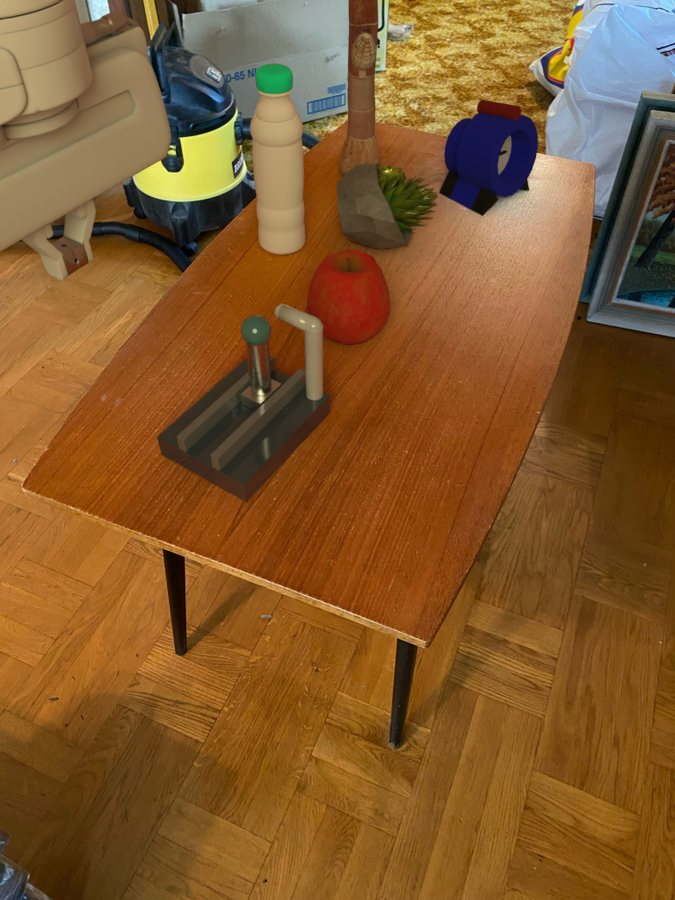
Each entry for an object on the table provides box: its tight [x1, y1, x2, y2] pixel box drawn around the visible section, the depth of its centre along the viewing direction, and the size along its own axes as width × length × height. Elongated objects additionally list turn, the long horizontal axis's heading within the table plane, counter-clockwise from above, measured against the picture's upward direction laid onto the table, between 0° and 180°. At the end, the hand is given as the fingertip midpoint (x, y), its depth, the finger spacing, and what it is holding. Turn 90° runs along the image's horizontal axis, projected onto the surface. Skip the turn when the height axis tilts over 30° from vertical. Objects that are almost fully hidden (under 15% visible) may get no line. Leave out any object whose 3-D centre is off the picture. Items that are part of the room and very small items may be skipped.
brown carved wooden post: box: [338, 0, 382, 178], centre depth 112 cm, size 10×7×30 cm
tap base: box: [156, 303, 331, 503], centre depth 77 cm, size 12×16×14 cm
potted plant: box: [336, 163, 439, 250], centre depth 105 cm, size 12×13×15 cm
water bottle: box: [249, 63, 306, 256], centre depth 99 cm, size 7×7×25 cm
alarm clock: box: [438, 99, 539, 217], centre depth 114 cm, size 12×12×15 cm
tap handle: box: [239, 314, 282, 411], centre depth 77 cm, size 3×4×12 cm
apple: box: [306, 249, 391, 346], centre depth 91 cm, size 11×11×11 cm
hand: (70, 268), depth 50 cm, fingers closed
